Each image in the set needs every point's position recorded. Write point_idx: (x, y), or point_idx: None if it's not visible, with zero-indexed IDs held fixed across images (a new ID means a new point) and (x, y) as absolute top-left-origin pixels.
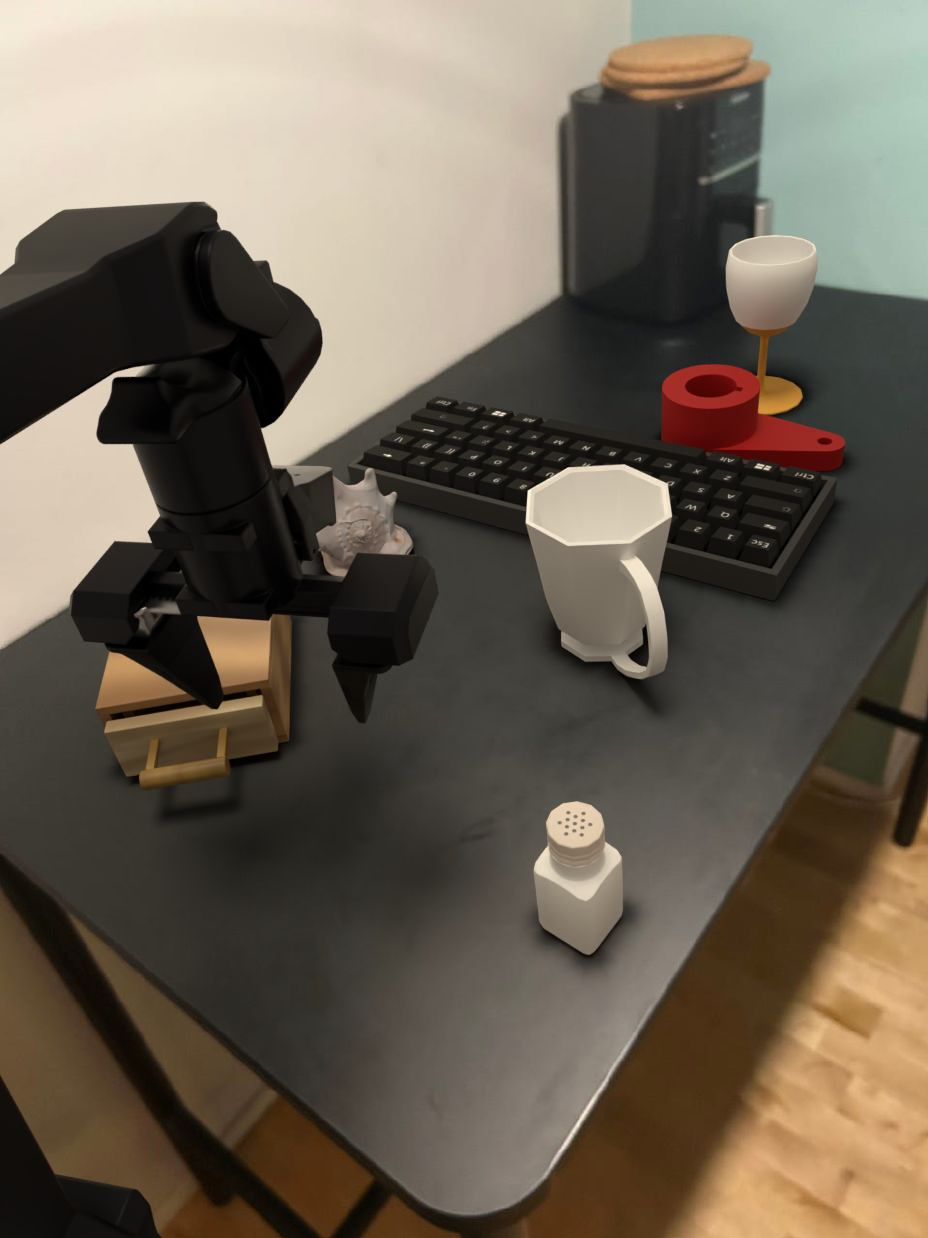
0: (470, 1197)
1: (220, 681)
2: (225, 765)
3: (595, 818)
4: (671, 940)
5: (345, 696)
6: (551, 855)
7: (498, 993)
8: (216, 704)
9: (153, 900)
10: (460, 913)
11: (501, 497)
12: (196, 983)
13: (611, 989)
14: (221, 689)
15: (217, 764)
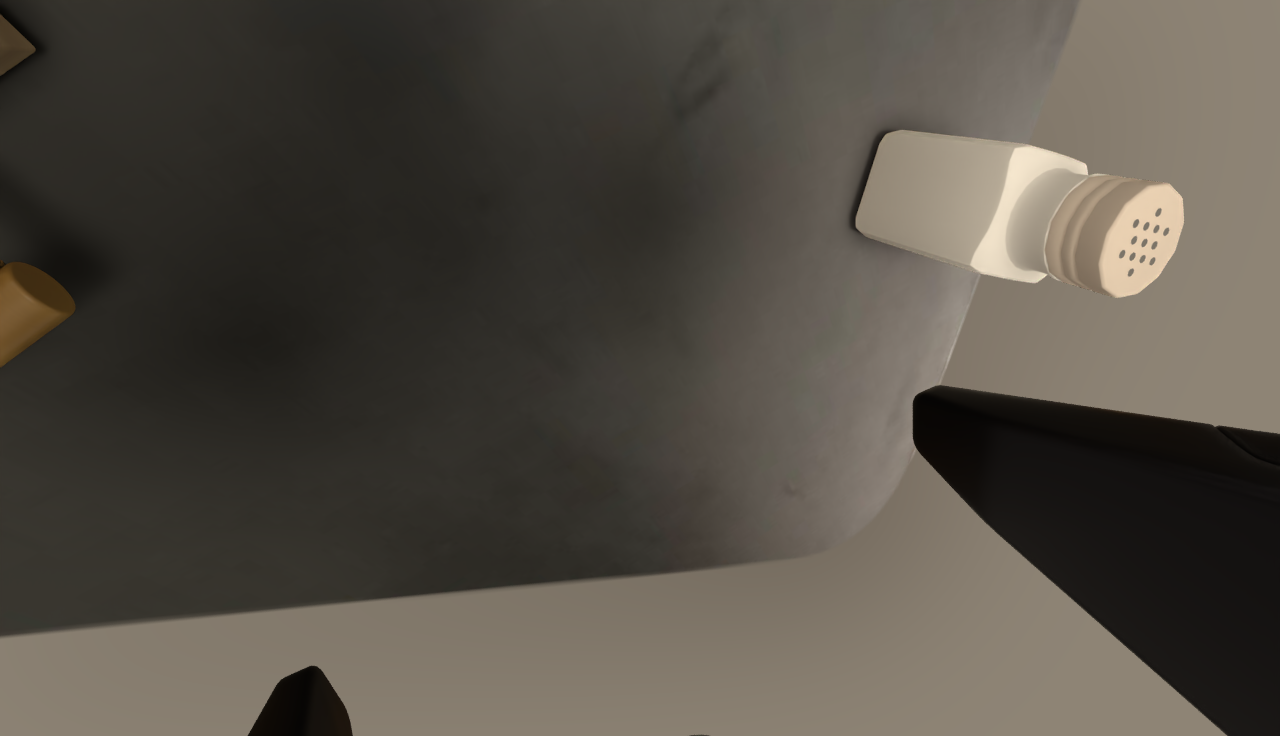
0: (850, 531)
1: (306, 733)
2: (55, 309)
3: (1174, 213)
4: None
5: (1136, 652)
6: (1049, 273)
7: (821, 345)
8: (348, 733)
9: (160, 538)
10: (733, 262)
11: None
12: (402, 577)
13: (942, 267)
14: (313, 705)
15: (25, 323)
